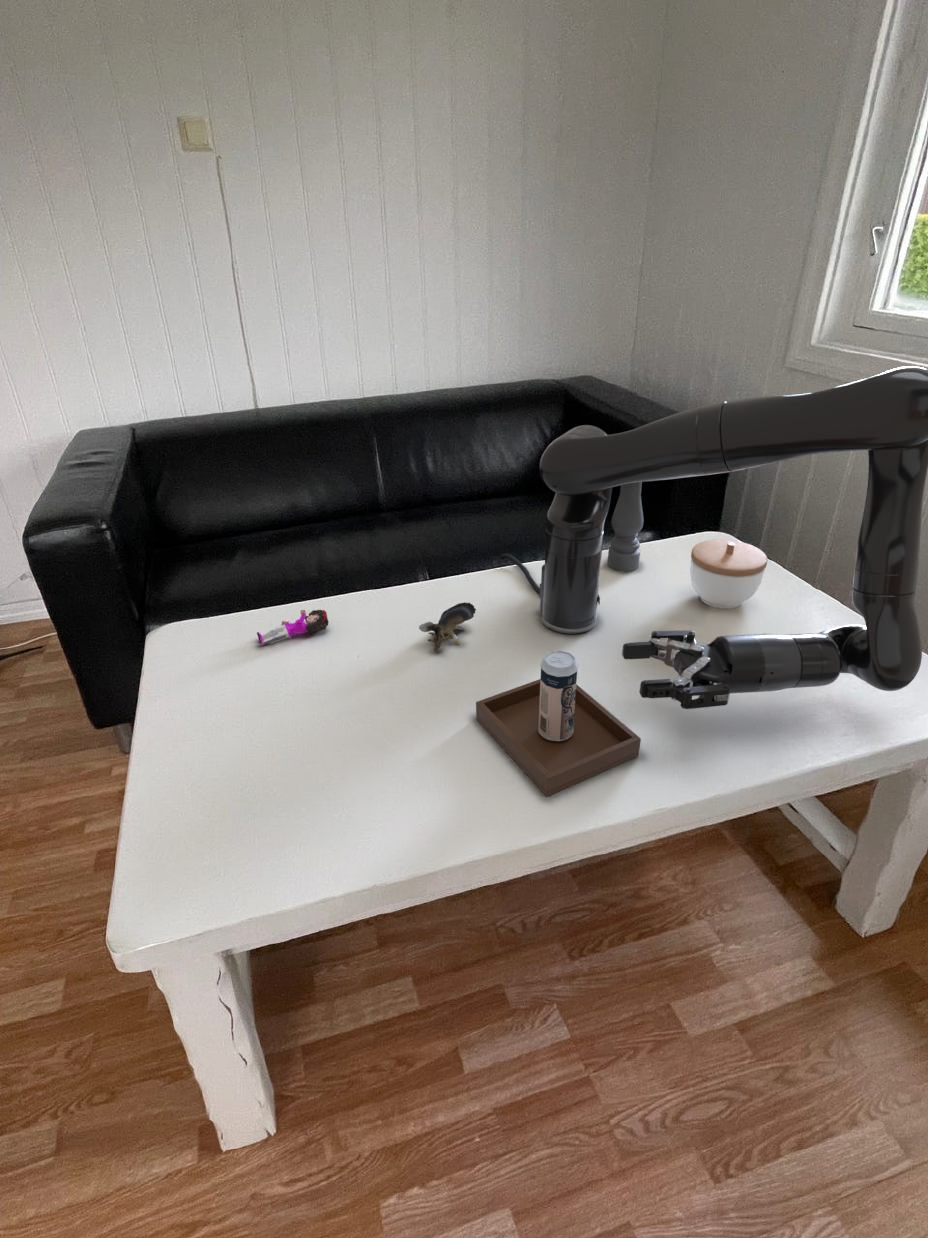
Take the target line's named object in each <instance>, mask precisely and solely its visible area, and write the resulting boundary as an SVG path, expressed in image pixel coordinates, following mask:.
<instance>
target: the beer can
mask: <svg viewBox="0 0 928 1238" xmlns="http://www.w3.org/2000/svg"><path fill="white" fill-rule="evenodd" d="M578 670H579V663H578V661H577V659H576V657H575V656H574V655H573V654H572V653H571V652H569V651H568V652H567V651H563V650H555V651H550V652H548V653H547V654H545V655H544V657H543V659H542V660H541V662H540V678H539V679H540V703H539V726H538V731H539V733H540V734H541V736H543V737H544V738H546V739H548V740H551V741H563V740H566V739H568V738H569V737H571V736H572V734H573V722H574V709H575V695H576V684H577V680H578Z"/></svg>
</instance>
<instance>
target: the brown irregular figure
mask: <svg viewBox="0 0 928 1238" xmlns="http://www.w3.org/2000/svg"><path fill="white" fill-rule="evenodd" d="M476 611H477V608H476V607H475V605H473V603H471V602H466V601H465V602H459V603H456V604H455V605H452V606H451V607H449V608H447V609H446V610H444V611H443V612H442V613H441V616H440V617H439V620H438V622H437V623H433V622H432V621H426V622H424V623H422V624H420V625H419V626H418V629H419V630H420V631H421V632H423V633H427V634H428V635H431V636H432V637H433V639H432V638H429V639H427V642H428V643H429V642H431V643H433V644H434V648H433V652H434V653H435V652H437V651H438V650H439V649H441V647H442V644H443V642H445V641H449V640H451V641H452V642H455V643H456V644H458V645H459V646H460V644H461V642H460V638H459V637H458V636H457V635H456V634H455V632H454V631H455V630H458V631H459V630H461V631H465V630H466V629H465V627H463V626H460V625H462V624H463V623H464V622H467V621H470V620H471V619H473V618H474V616H475V614H476Z"/></svg>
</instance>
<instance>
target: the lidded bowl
mask: <svg viewBox="0 0 928 1238" xmlns="http://www.w3.org/2000/svg"><path fill="white" fill-rule="evenodd" d="M690 553H691V554H690V558H691V559H690V566H689V579H690V582H691V586H692V588H693V590H694V592H695V593H696V595H697V596H698V597H699V599H700V601H701V602H702V603H704V604H706V605H707V606H709V607H712V608H715V609H720V610H721V609H722V610H733V609H736V608H738V607H740V606H741V605H742V604H744V603H745V602H747V601H749V600H750V599H751V598H752V597H753V596H754V595H755V594H756V592H757V591H758V590H759V587H760V585H761V583H762V580H763V577H764V574H765V571H766V568H767V565H768V556H767V554H766V553H765V552H764V551H763V550H761V549H760V548H758V547H756V546H754V545H752V544H750V543H746V542H743V541H737V540H731V539H708V540H705V541H701V542H698V543H696V544H695V545H694V546H693V547H692V550H691V552H690Z"/></svg>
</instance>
